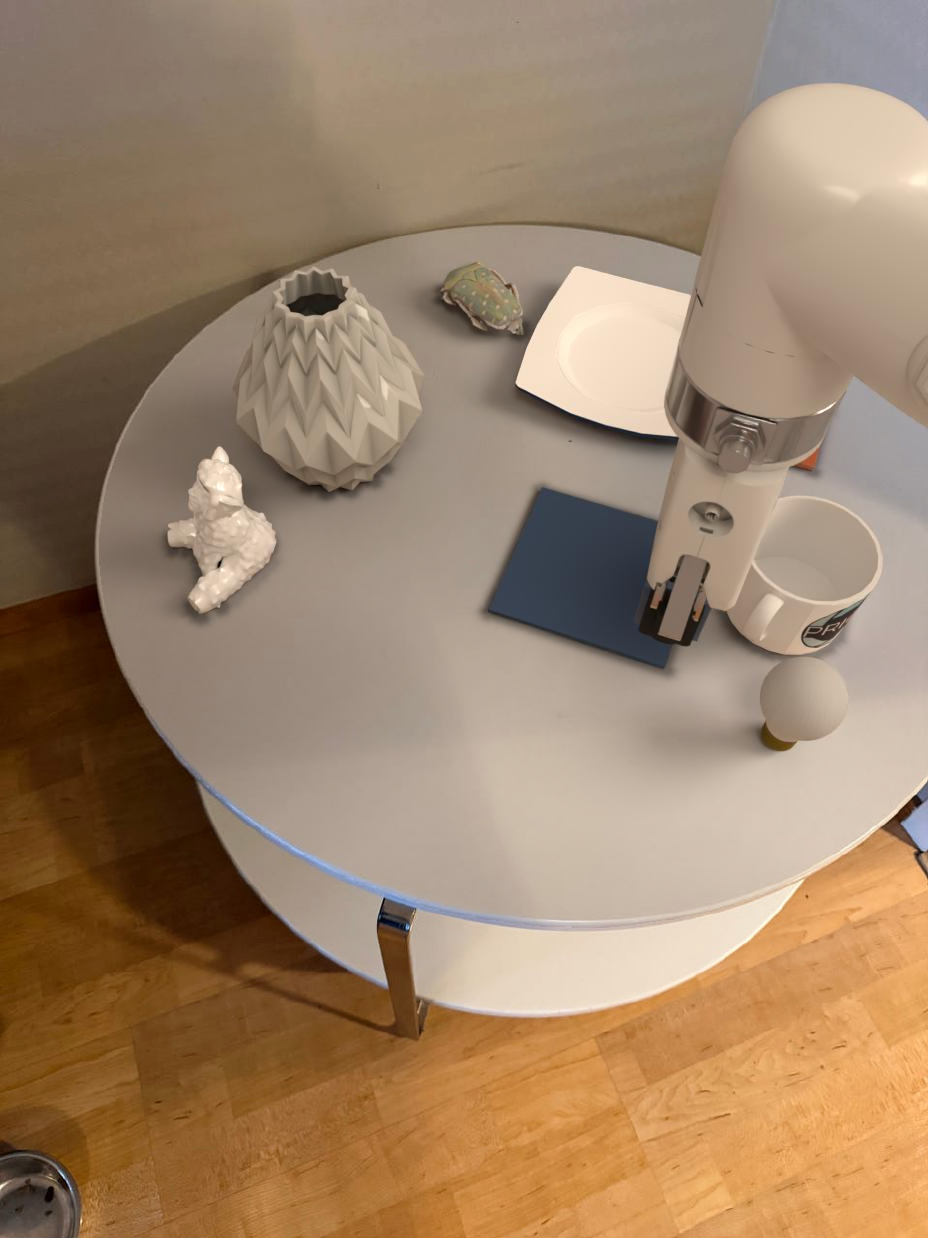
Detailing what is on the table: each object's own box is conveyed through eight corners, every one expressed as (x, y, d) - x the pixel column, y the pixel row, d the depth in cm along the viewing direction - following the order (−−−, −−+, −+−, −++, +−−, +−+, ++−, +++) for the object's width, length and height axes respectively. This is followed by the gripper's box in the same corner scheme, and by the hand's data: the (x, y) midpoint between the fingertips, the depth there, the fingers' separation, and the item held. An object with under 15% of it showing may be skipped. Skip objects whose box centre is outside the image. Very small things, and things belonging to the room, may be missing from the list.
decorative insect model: (527, 264, 100) (522, 229, 96) (525, 349, 96) (520, 317, 92) (445, 270, 102) (437, 237, 97) (440, 354, 98) (430, 323, 93)
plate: (566, 278, 100) (568, 257, 98) (756, 327, 97) (763, 306, 94) (500, 409, 90) (501, 389, 88) (709, 469, 87) (716, 450, 84)
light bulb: (797, 790, 70) (843, 733, 62) (723, 751, 72) (759, 690, 63) (825, 729, 73) (873, 666, 64) (754, 692, 75) (792, 627, 66)
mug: (759, 533, 83) (786, 473, 76) (869, 598, 79) (907, 540, 72) (675, 635, 77) (696, 580, 70) (790, 709, 74) (824, 658, 67)
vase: (261, 541, 82) (214, 384, 66) (245, 406, 91) (200, 238, 75) (444, 511, 84) (441, 351, 68) (412, 381, 92) (402, 212, 77)
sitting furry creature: (166, 535, 82) (125, 441, 72) (261, 504, 84) (234, 407, 74) (196, 620, 78) (156, 532, 68) (295, 584, 80) (271, 494, 70)
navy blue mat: (704, 537, 83) (705, 534, 82) (664, 669, 76) (665, 666, 75) (541, 489, 85) (541, 486, 85) (488, 612, 78) (488, 609, 78)
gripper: (806, 552, 38) (703, 741, 54) (861, 291, 46) (759, 520, 62) (624, 501, 39) (576, 700, 55) (710, 255, 48) (647, 489, 63)
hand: (673, 603), depth 58 cm, fingers closed on slate block, 4 cm apart
